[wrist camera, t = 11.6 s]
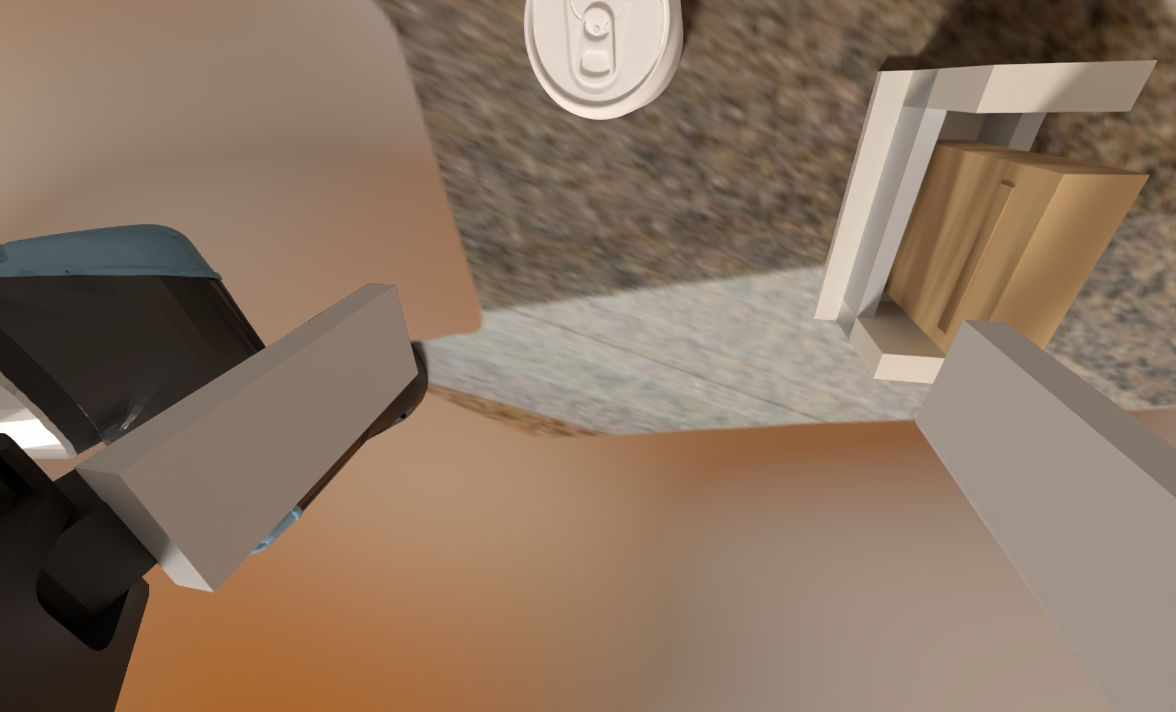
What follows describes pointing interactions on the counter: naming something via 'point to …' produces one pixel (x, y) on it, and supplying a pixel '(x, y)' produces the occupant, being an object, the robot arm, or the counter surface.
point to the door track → (898, 164)
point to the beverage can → (603, 52)
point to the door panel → (1004, 238)
